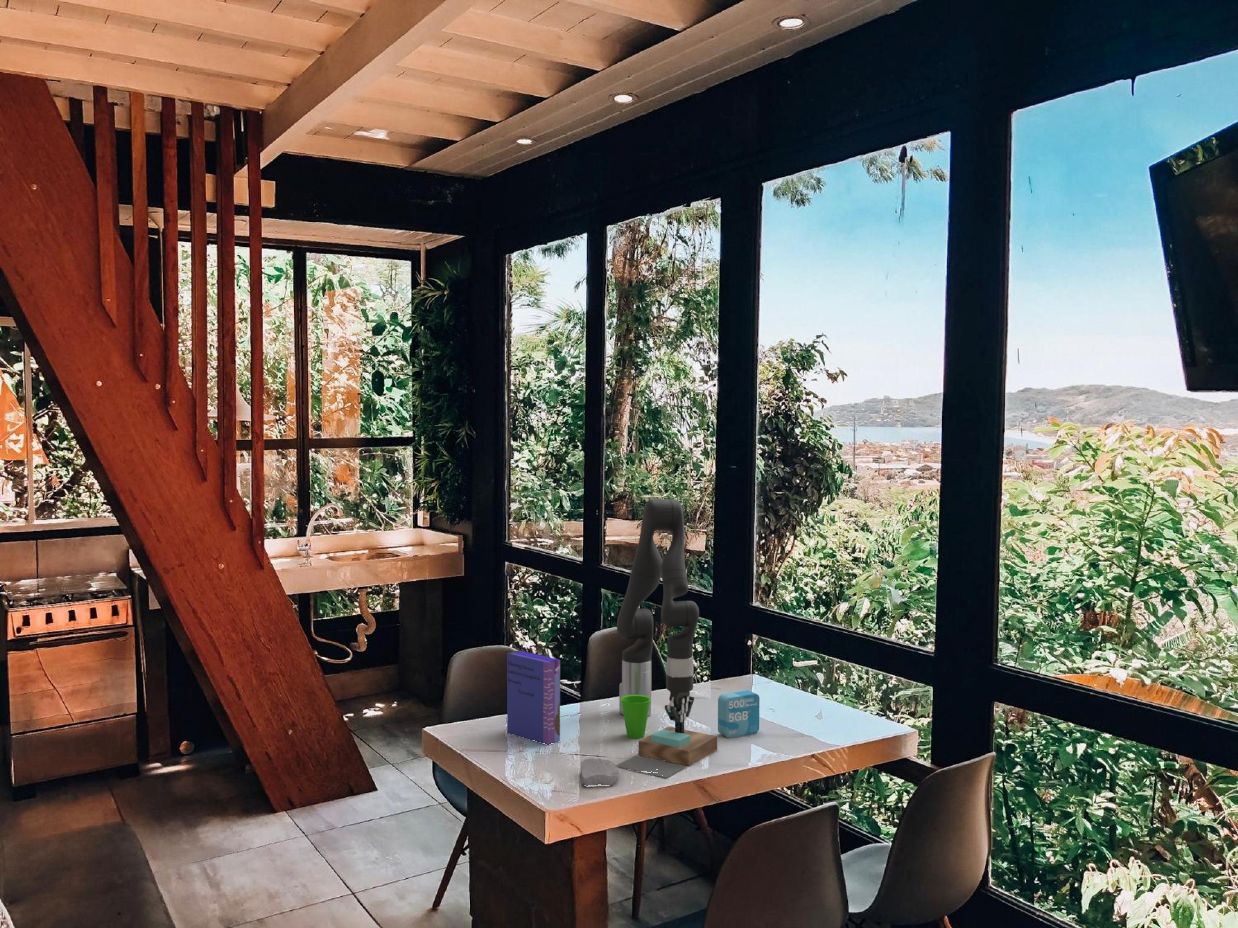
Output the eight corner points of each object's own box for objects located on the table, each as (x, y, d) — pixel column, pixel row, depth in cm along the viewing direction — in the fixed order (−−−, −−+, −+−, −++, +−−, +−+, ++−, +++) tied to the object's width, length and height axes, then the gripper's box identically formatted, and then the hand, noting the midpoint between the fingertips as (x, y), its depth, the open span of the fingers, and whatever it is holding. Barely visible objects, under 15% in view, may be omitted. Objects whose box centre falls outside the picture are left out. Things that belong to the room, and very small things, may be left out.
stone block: (614, 777, 261) (577, 771, 260) (618, 760, 260) (581, 753, 259) (618, 796, 249) (579, 789, 248) (622, 778, 249) (583, 771, 248)
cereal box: (559, 741, 285) (560, 658, 284) (547, 745, 281) (547, 661, 280) (519, 729, 296) (519, 649, 296) (507, 732, 293) (507, 652, 292)
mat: (615, 766, 264) (615, 765, 264) (635, 756, 272) (635, 755, 272) (666, 778, 255) (666, 777, 255) (685, 767, 263) (685, 766, 263)
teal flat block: (651, 741, 272) (651, 734, 272) (662, 736, 277) (662, 729, 277) (679, 747, 267) (679, 740, 267) (690, 742, 272) (690, 734, 272)
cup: (655, 733, 293) (655, 696, 292) (643, 742, 284) (643, 704, 284) (628, 729, 296) (628, 693, 296) (615, 738, 288) (615, 700, 288)
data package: (726, 738, 288) (726, 697, 288) (717, 734, 292) (717, 694, 291) (759, 732, 294) (759, 692, 293) (750, 728, 298) (750, 689, 297)
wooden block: (638, 754, 273) (638, 740, 273) (668, 739, 286) (668, 726, 286) (688, 766, 264) (688, 751, 264) (717, 750, 278) (717, 735, 277)
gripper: (679, 665, 282) (679, 726, 283) (655, 675, 271) (655, 738, 272) (703, 669, 278) (702, 730, 279) (679, 679, 267) (679, 742, 268)
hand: (679, 734), depth 275 cm, fingers closed
